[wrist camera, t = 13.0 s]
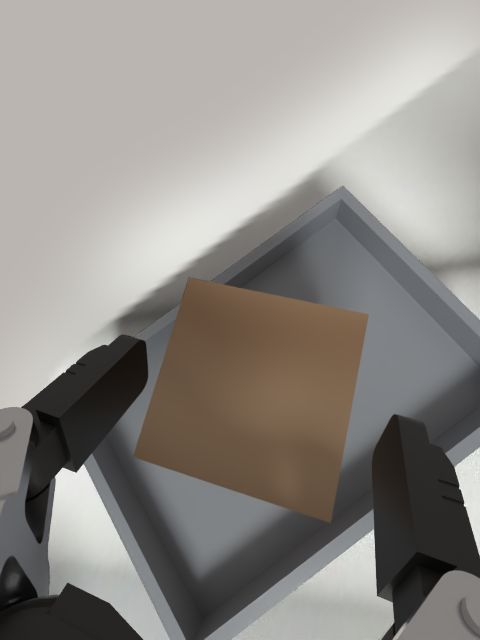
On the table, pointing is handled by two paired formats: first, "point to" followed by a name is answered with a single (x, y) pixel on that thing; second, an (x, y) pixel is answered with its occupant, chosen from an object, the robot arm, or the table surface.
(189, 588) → the grey footed tray
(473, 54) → the table surface
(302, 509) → the tan block
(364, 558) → the table surface
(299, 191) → the table surface
